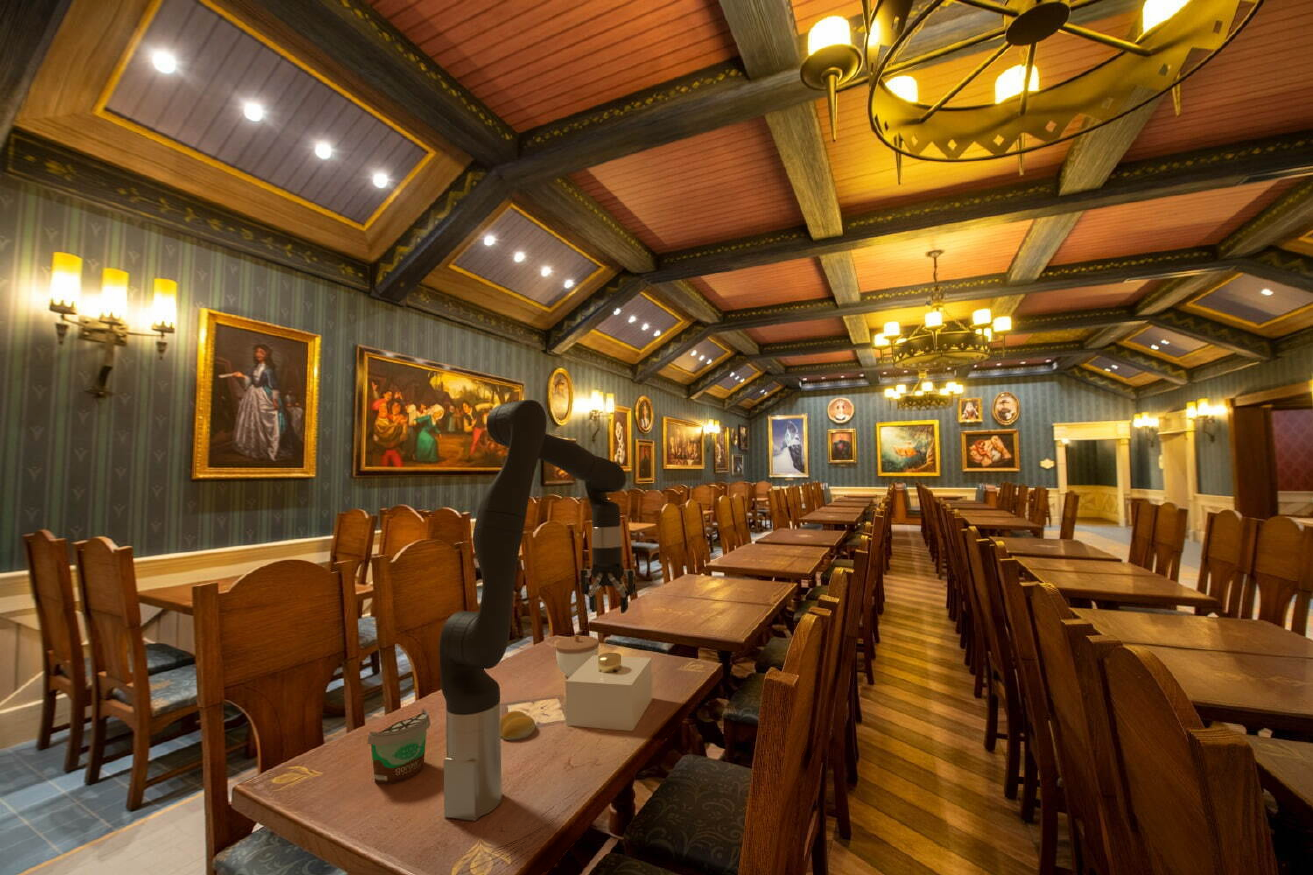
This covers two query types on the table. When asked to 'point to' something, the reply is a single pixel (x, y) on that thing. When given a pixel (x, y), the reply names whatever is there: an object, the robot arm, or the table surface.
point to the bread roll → (516, 725)
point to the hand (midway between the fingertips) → (609, 611)
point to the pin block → (609, 694)
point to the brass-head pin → (609, 662)
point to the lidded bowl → (575, 652)
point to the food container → (399, 749)
